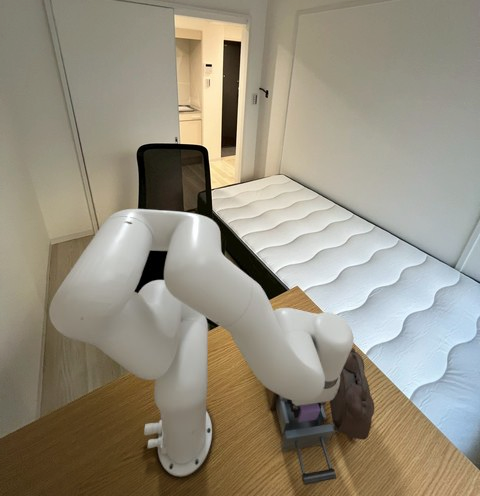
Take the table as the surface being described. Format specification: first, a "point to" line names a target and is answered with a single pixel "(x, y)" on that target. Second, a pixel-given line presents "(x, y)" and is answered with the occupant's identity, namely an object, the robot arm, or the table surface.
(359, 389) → the brown beanbag pouch
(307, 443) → the tray
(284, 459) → the table surface
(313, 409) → the purple cube
